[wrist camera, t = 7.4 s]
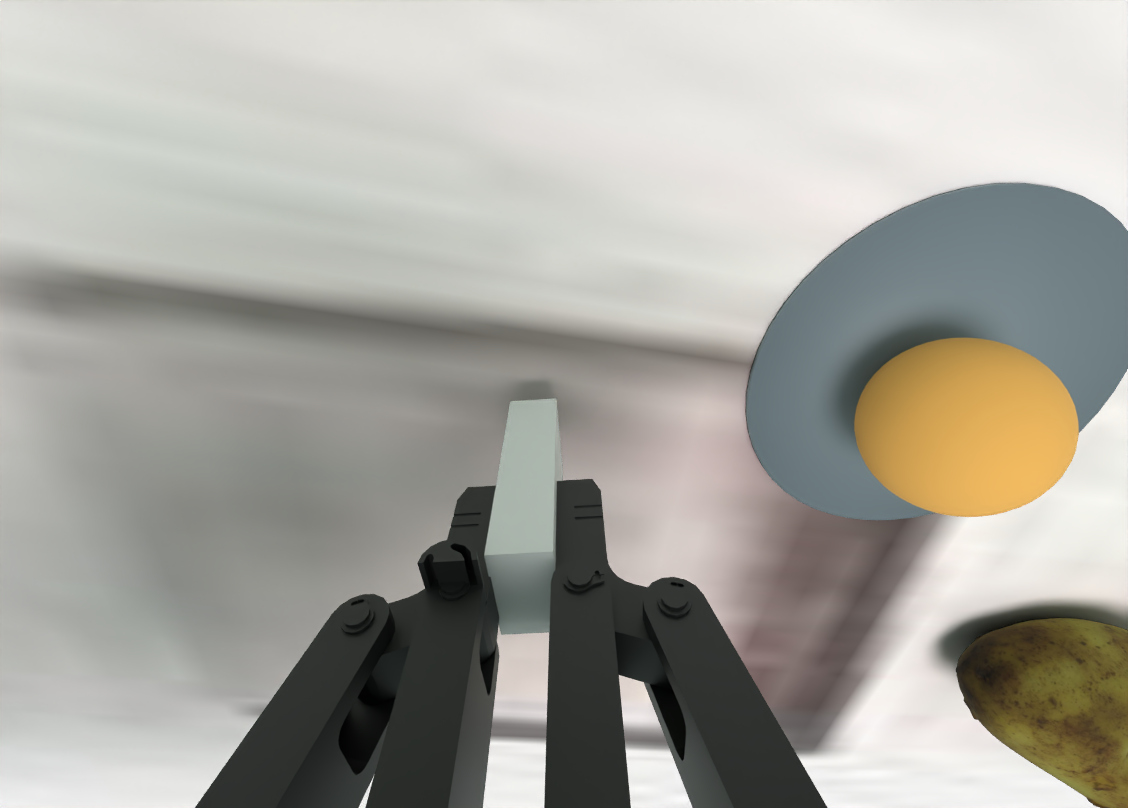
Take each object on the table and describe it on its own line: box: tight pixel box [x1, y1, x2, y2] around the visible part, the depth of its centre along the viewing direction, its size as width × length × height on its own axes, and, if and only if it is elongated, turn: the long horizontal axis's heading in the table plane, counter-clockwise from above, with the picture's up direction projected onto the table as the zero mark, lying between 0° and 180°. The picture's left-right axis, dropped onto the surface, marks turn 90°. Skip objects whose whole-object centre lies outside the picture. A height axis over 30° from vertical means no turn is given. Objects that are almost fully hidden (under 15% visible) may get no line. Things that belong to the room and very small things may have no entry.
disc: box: [746, 183, 1128, 520], centre depth 19 cm, size 13×13×1 cm
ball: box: [854, 338, 1079, 517], centre depth 16 cm, size 6×6×6 cm
